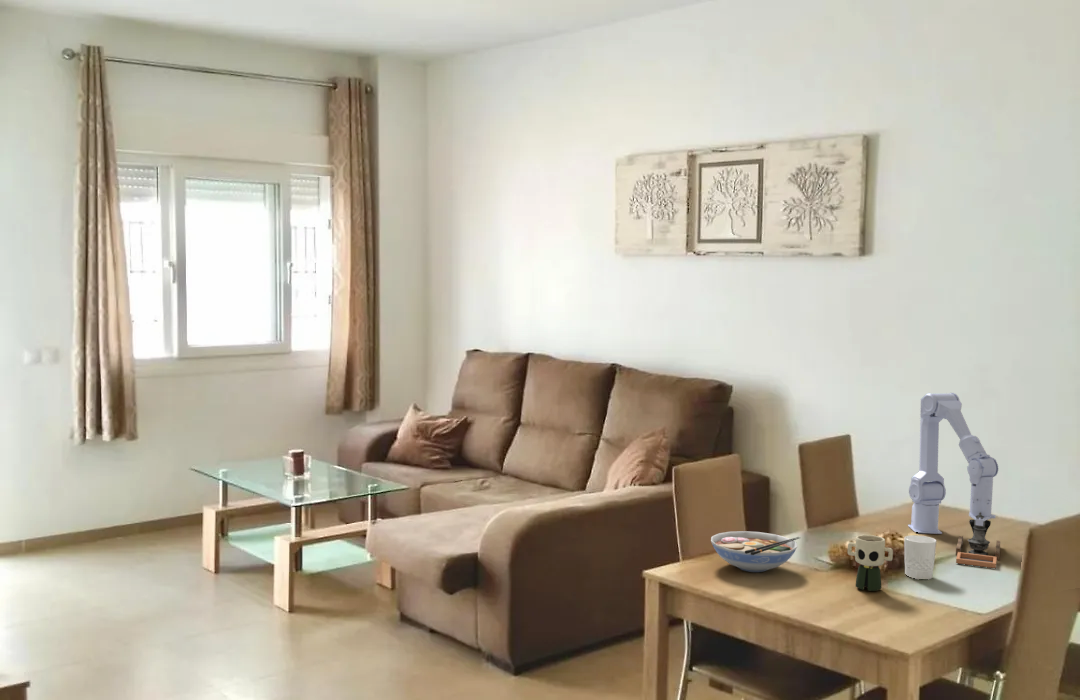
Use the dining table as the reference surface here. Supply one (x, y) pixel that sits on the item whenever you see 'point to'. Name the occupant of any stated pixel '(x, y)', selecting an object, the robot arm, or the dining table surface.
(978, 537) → the dark grey figurine
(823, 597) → the dining table surface
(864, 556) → the character mug
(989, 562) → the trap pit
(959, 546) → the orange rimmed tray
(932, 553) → the white cup
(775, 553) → the ramen bowl
